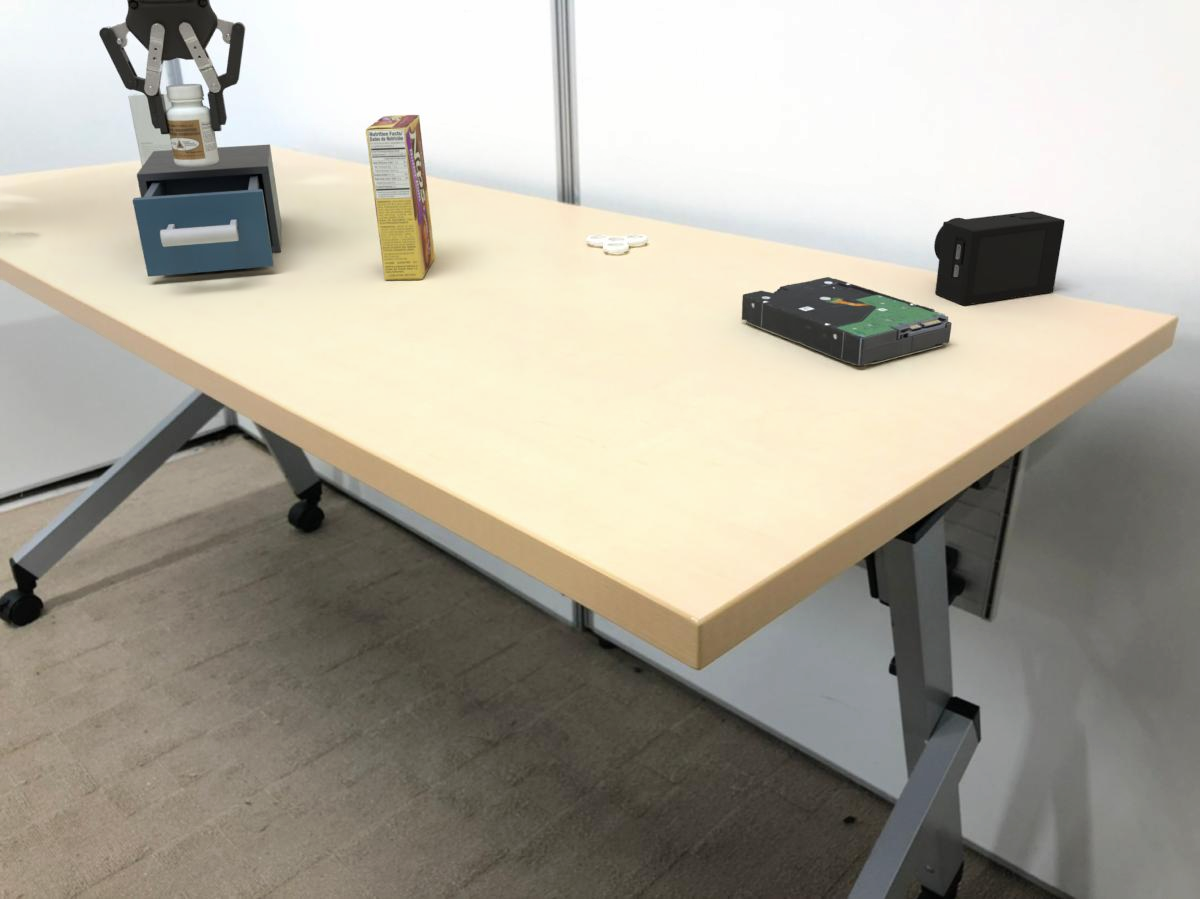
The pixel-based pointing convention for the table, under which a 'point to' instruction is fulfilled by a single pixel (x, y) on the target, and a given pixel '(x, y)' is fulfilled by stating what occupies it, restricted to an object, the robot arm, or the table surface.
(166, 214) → the blue drawer
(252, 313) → the table surface
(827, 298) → the disk drive
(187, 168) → the drawer cabinet
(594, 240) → the fidget spinner
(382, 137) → the candy box
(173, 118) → the pill bottle
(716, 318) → the table surface
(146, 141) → the small box
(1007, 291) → the digital camera
